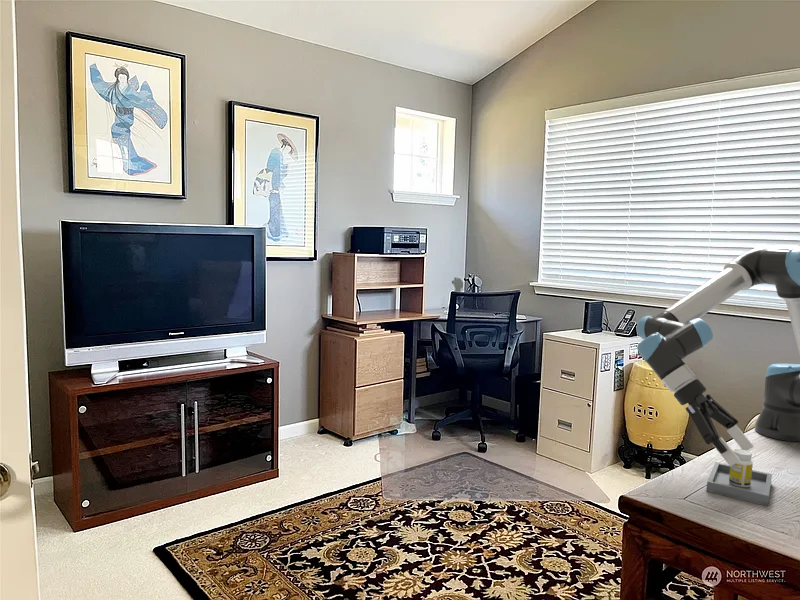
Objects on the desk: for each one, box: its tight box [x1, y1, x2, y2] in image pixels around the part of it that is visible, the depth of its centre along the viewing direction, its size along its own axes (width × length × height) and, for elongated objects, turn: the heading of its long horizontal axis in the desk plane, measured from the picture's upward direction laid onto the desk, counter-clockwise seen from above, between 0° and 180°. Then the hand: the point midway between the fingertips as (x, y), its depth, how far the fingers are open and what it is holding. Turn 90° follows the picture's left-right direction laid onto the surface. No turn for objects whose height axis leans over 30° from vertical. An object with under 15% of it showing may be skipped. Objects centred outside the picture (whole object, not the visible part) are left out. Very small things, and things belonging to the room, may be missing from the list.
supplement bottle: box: [729, 448, 754, 487], centre depth 150 cm, size 5×5×8 cm
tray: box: [706, 461, 773, 507], centre depth 150 cm, size 16×13×2 cm
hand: (742, 456), depth 149 cm, fingers open, 13 cm apart
